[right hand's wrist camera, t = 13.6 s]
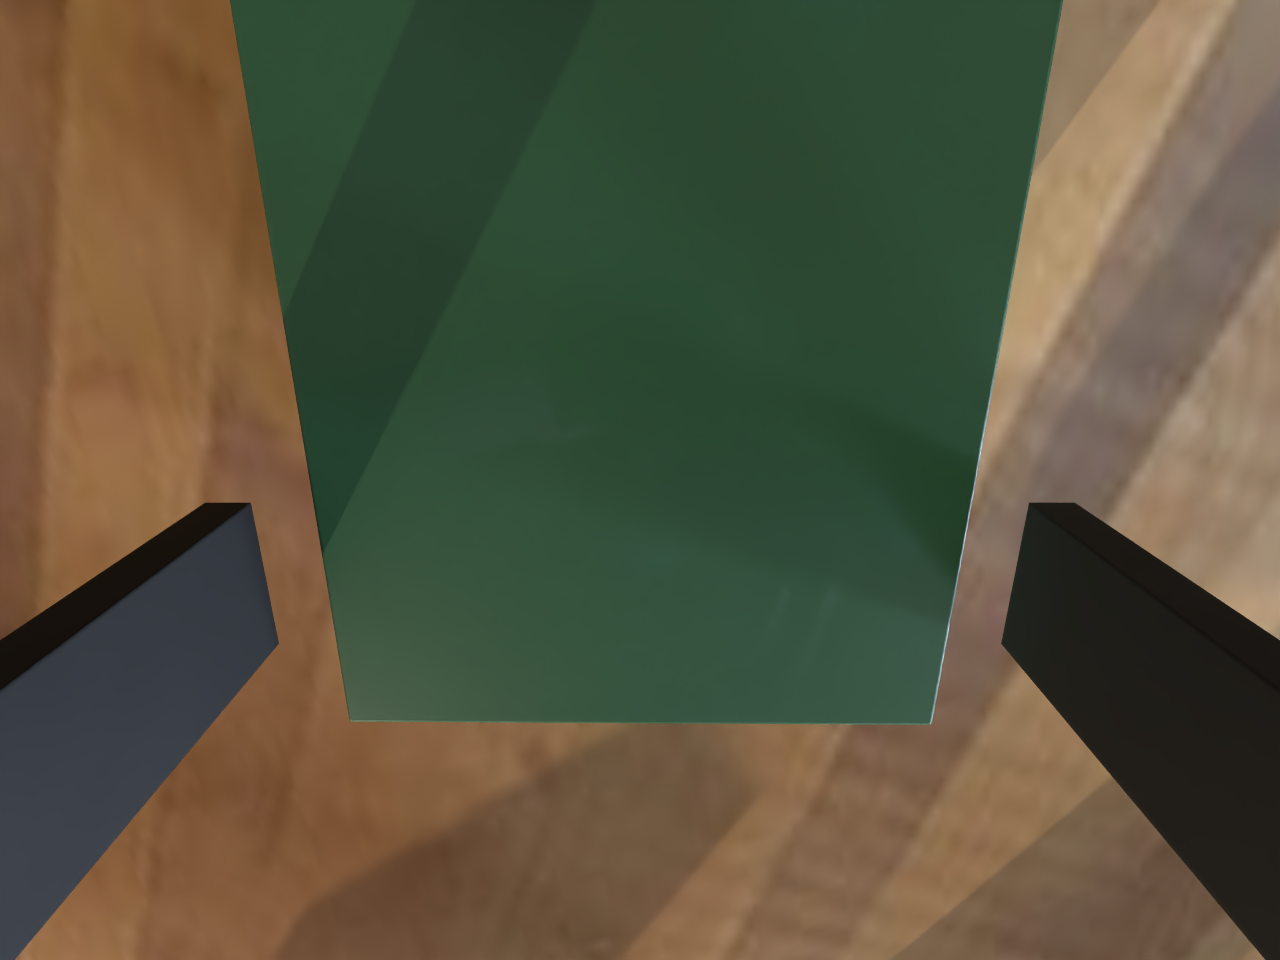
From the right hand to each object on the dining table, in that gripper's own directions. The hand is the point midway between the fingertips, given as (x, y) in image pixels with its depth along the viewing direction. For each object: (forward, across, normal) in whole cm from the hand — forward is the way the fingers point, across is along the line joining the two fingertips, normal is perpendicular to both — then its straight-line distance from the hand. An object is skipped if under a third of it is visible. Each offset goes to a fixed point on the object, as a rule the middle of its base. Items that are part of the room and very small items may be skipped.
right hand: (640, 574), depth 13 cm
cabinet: (+12, 0, -6) cm, 13 cm away
